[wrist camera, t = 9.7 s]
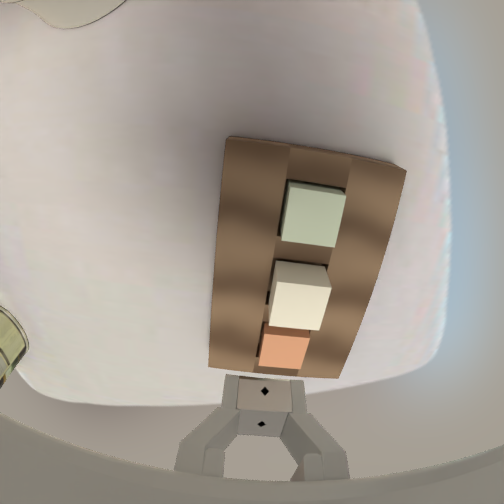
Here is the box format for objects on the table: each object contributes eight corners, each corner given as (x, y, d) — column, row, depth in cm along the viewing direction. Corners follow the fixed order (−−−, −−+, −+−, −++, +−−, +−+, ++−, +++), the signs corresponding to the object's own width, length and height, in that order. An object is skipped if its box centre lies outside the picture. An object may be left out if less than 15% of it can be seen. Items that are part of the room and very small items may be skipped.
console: (230, 136, 26) (225, 139, 24) (393, 164, 27) (406, 170, 24) (211, 349, 37) (208, 366, 34) (334, 361, 37) (338, 378, 34)
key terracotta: (264, 311, 33) (264, 333, 30) (306, 316, 33) (310, 338, 30) (259, 342, 35) (258, 365, 32) (298, 346, 35) (300, 369, 32)
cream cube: (275, 260, 28) (277, 281, 25) (324, 266, 28) (331, 287, 25) (268, 301, 30) (268, 325, 27) (314, 306, 30) (319, 330, 27)
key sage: (287, 176, 27) (290, 187, 24) (336, 184, 27) (346, 195, 24) (279, 224, 29) (281, 240, 26) (327, 231, 29) (334, 247, 26)
